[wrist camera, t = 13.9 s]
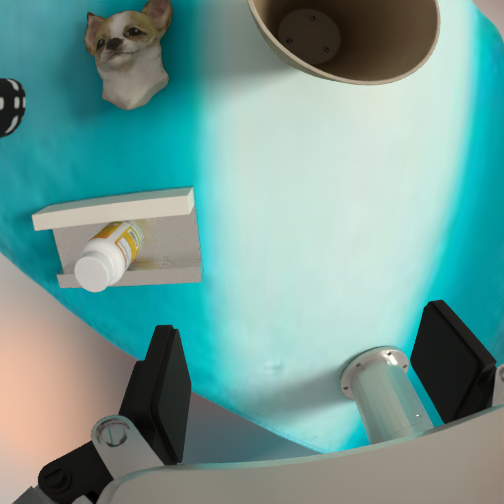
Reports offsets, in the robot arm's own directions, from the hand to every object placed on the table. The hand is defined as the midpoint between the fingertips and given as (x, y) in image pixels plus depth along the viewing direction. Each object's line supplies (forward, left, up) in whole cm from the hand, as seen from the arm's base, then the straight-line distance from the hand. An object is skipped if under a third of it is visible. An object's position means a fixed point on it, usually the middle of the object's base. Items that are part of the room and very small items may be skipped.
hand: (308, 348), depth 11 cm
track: (+9, +16, -28) cm, 34 cm away
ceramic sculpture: (+22, -3, -29) cm, 36 cm away
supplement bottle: (+9, +16, -28) cm, 33 cm away
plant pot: (+8, -17, -28) cm, 34 cm away
